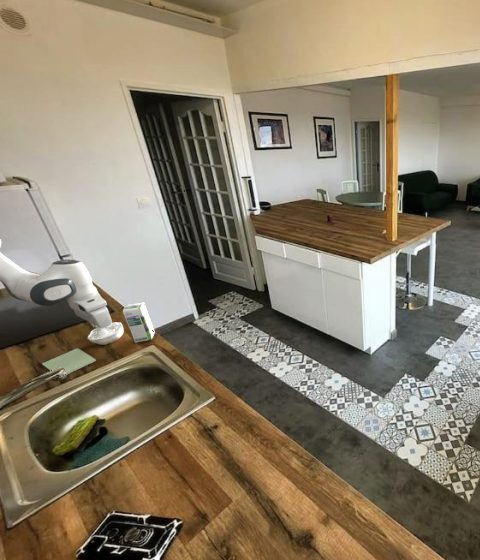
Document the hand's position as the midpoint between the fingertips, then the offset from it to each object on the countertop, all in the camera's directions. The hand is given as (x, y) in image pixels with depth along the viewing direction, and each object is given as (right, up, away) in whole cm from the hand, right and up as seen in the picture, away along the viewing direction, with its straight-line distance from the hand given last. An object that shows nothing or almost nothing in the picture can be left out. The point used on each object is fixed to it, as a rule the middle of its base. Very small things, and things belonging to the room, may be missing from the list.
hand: (98, 329), depth 123 cm
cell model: (+6, -4, -1) cm, 8 cm away
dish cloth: (+2, -9, -13) cm, 16 cm away
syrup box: (+18, -3, +1) cm, 18 cm away
